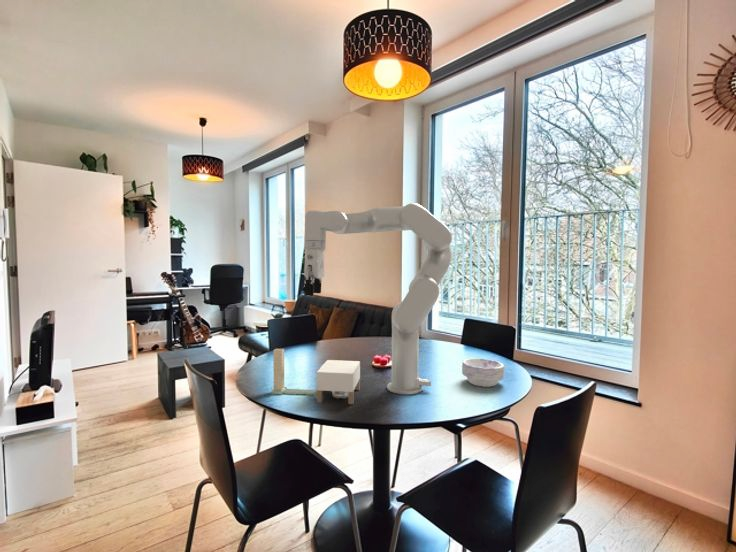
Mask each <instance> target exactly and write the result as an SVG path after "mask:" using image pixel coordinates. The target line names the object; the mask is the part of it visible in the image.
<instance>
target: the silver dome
mask: <svg viewBox="0 0 736 552" xmlns="http://www.w3.org/2000/svg"><path fill="white" fill-rule="evenodd" d="M332 396H333V398H334V397H335V398H334V399H339V398H342V399H347V398H348V392H342V391H331V397H332Z"/></svg>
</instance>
